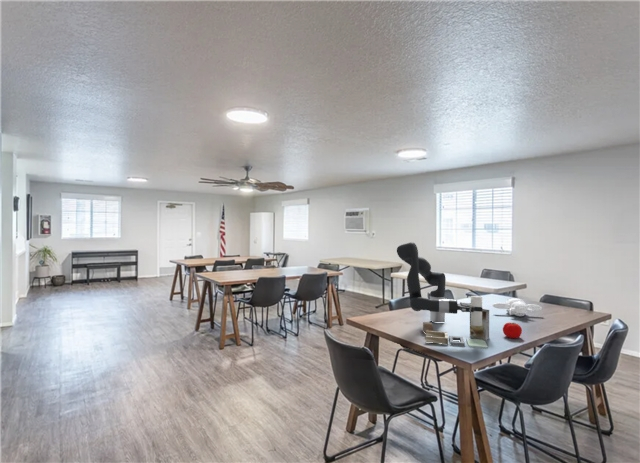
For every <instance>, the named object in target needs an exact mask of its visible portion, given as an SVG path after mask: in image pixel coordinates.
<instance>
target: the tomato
mask: <svg viewBox="0 0 640 463" xmlns="http://www.w3.org/2000/svg"><path fill="white" fill-rule="evenodd" d="M502 333H503V334H504V336H506V337H507V338H510V339H518V338H520V337H521V336H522V333H523V330H522V327H521V325H520V324H518V323H516V322H506V323H505V324H503V326H502Z"/></svg>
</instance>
